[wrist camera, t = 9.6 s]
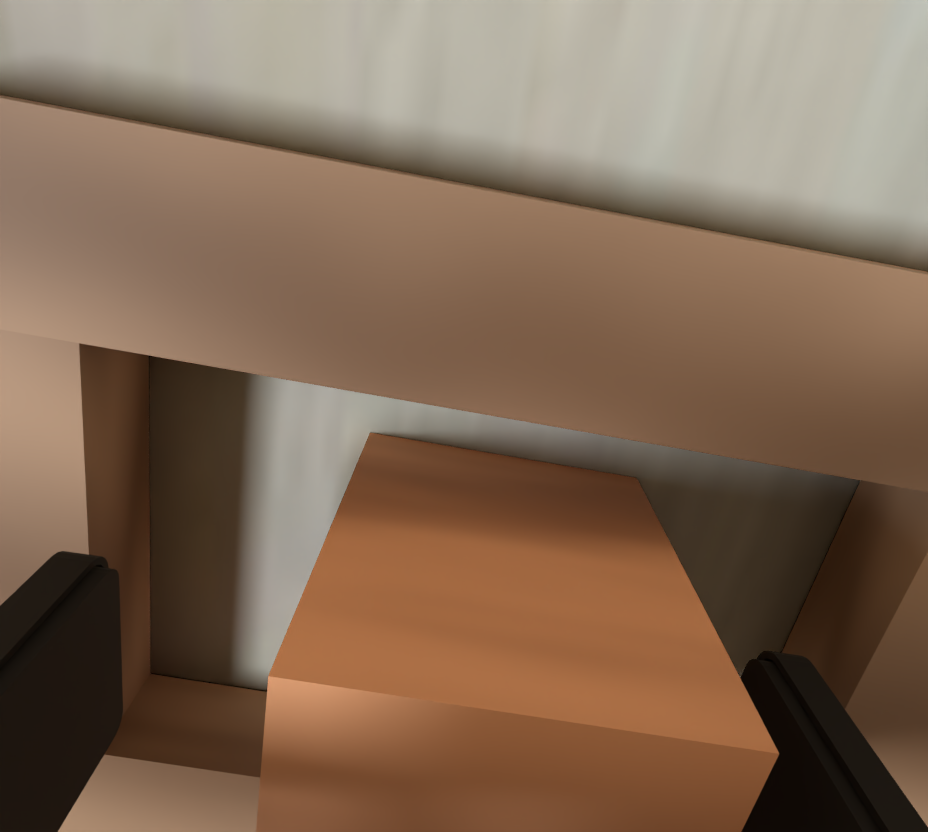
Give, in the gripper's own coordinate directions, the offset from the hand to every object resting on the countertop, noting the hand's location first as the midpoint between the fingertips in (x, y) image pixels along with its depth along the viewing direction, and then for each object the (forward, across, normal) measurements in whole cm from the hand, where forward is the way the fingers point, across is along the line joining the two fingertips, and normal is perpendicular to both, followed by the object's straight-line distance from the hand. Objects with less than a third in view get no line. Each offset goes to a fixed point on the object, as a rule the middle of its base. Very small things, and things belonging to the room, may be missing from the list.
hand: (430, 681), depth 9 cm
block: (+3, -1, 0) cm, 3 cm away
